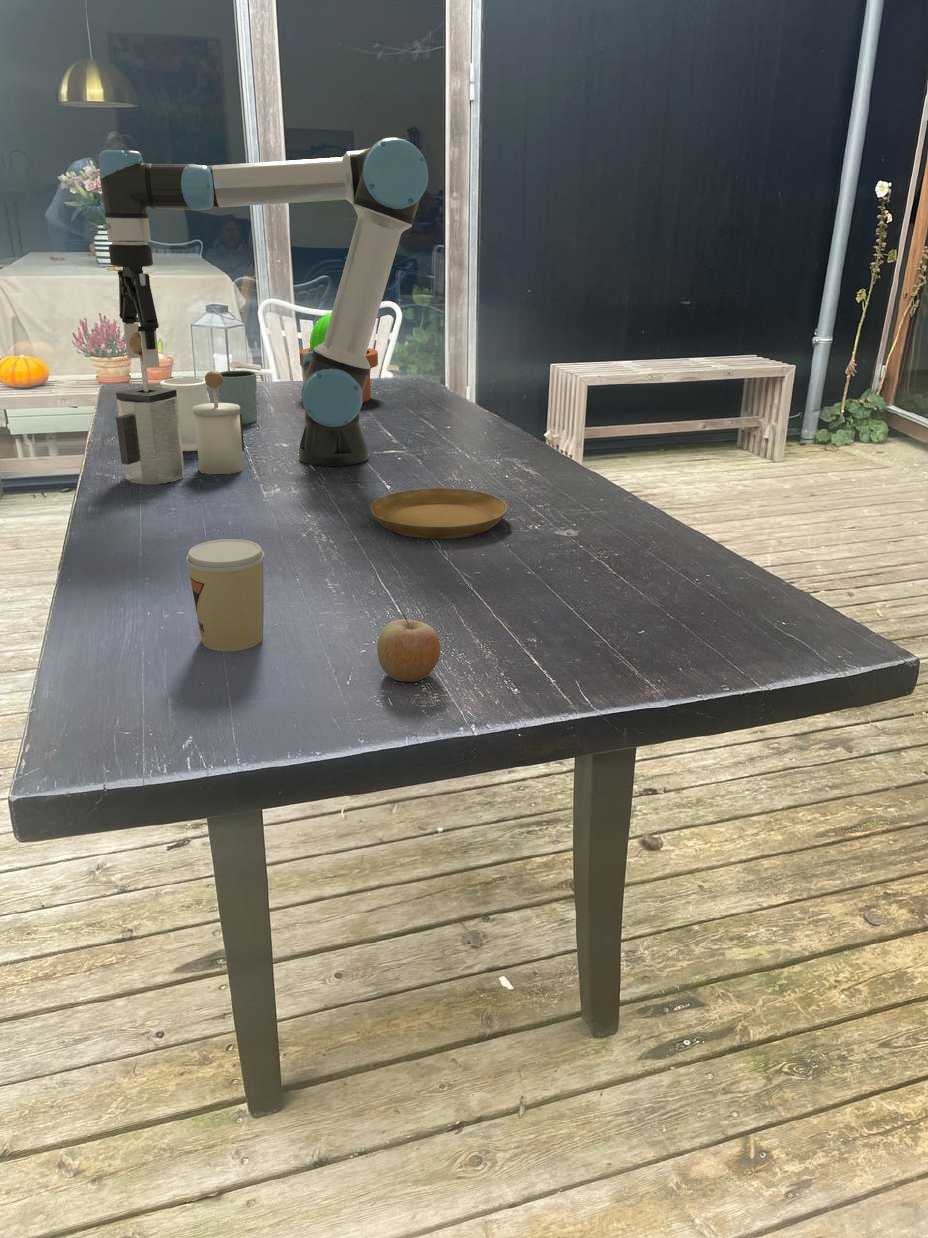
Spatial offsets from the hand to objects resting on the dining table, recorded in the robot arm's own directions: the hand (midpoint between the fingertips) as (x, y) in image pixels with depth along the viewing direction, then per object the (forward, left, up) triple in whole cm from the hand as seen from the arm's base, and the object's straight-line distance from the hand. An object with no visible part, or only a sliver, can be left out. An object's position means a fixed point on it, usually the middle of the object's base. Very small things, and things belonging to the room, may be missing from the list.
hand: (143, 362), depth 184 cm
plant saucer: (-64, +2, -23) cm, 68 cm away
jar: (+10, -24, -23) cm, 35 cm away
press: (0, +1, -23) cm, 23 cm away
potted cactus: (+10, -92, -23) cm, 95 cm away
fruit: (-86, +59, -23) cm, 107 cm away
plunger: (0, 0, -15) cm, 15 cm away
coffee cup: (-61, +59, -23) cm, 88 cm away
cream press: (-8, -12, -23) cm, 27 cm away
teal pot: (+18, -54, -23) cm, 61 cm away
